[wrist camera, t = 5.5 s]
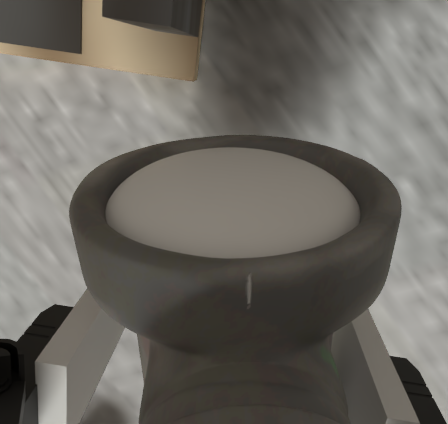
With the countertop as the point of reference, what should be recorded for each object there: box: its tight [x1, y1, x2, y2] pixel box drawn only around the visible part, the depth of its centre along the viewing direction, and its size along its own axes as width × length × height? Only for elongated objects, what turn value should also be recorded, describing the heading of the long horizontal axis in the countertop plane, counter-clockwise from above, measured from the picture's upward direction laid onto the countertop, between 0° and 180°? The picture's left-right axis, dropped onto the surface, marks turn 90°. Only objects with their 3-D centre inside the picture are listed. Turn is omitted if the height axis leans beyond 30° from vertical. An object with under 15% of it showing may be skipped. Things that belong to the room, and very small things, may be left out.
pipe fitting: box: [69, 135, 401, 424], centre depth 12 cm, size 12×8×10 cm
